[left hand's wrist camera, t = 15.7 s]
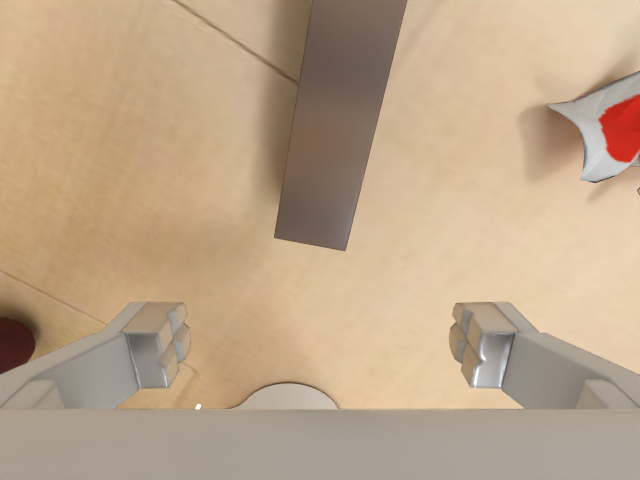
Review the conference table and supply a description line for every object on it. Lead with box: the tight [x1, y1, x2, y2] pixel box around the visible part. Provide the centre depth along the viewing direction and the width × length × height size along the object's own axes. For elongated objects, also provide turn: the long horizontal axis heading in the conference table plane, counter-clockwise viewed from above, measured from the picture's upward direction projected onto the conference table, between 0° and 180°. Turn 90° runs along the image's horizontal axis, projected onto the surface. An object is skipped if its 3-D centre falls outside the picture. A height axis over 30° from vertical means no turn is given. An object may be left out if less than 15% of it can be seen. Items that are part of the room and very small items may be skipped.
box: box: [274, 0, 407, 251], centre depth 28 cm, size 28×6×9 cm, turn 169°
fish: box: [546, 71, 640, 195], centre depth 30 cm, size 11×16×10 cm
